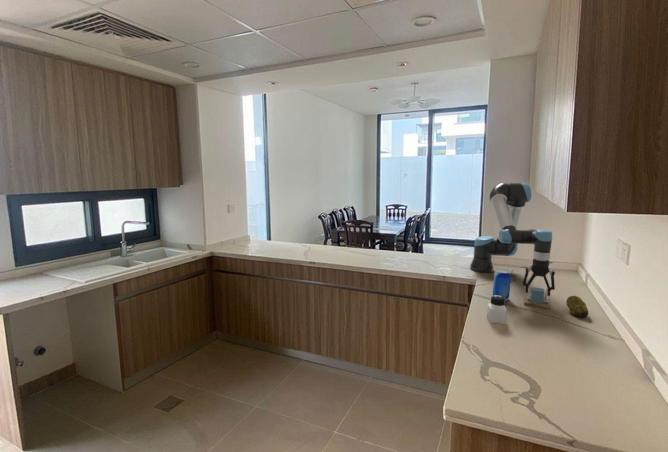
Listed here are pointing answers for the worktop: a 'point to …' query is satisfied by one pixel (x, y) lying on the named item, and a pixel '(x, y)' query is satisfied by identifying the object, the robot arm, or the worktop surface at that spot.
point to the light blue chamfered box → (537, 295)
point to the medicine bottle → (497, 310)
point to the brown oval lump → (577, 306)
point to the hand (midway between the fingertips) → (536, 299)
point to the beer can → (502, 283)
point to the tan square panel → (528, 302)
